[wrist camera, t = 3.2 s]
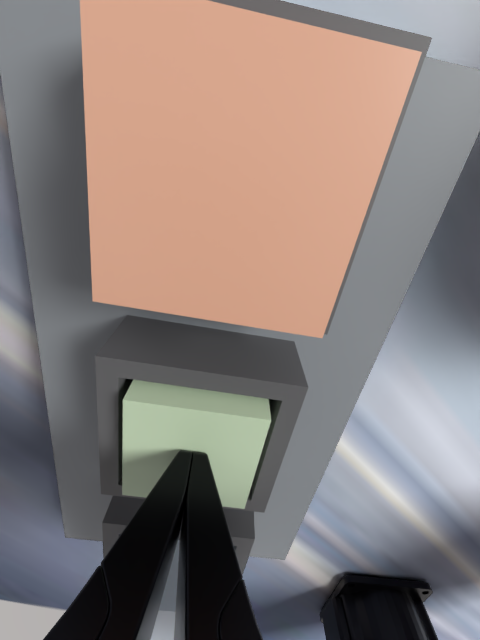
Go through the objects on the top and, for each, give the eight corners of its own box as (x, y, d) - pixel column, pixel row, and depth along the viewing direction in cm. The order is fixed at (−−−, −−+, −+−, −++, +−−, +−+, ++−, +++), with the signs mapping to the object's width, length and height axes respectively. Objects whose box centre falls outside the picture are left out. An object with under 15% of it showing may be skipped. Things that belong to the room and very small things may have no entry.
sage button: (263, 358, 11) (271, 420, 8) (243, 437, 13) (244, 508, 10) (152, 341, 11) (122, 399, 8) (147, 424, 12) (122, 495, 10)
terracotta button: (344, 102, 6) (422, 52, 4) (295, 282, 8) (322, 338, 5) (151, 59, 6) (77, -31, 3) (144, 255, 8) (92, 301, 5)
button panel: (453, 94, 9) (622, 34, 5) (280, 522, 19) (291, 619, 15) (39, -2, 8) (-158, -169, 4) (82, 500, 18) (36, 597, 14)
